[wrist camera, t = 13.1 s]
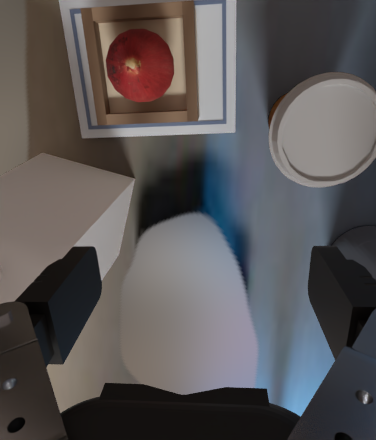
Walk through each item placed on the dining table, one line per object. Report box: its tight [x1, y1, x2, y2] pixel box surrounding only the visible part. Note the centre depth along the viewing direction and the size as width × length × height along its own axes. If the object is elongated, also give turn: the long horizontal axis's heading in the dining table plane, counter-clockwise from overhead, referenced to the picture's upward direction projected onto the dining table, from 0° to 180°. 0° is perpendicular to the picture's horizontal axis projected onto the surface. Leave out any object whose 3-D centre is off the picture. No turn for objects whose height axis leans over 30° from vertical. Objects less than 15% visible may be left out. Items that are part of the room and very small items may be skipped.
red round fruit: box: [106, 28, 174, 102], centre depth 28 cm, size 6×6×8 cm
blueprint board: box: [59, 0, 236, 138], centre depth 36 cm, size 18×14×1 cm
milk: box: [0, 153, 135, 304], centre depth 32 cm, size 12×12×26 cm
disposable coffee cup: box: [268, 72, 376, 187], centre depth 32 cm, size 10×10×12 cm
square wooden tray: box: [80, 0, 200, 125], centre depth 33 cm, size 10×10×6 cm
